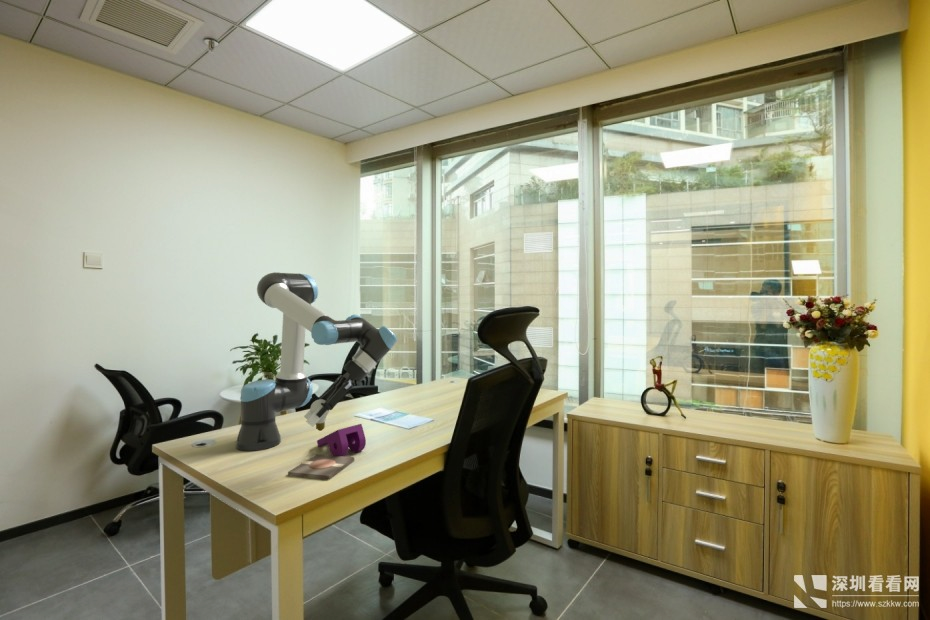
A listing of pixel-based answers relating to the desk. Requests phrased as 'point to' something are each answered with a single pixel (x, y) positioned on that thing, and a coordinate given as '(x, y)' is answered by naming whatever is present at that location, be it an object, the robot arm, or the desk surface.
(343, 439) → the mounting bracket
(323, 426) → the light bulb
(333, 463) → the board
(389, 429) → the desk surface
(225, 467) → the desk surface
